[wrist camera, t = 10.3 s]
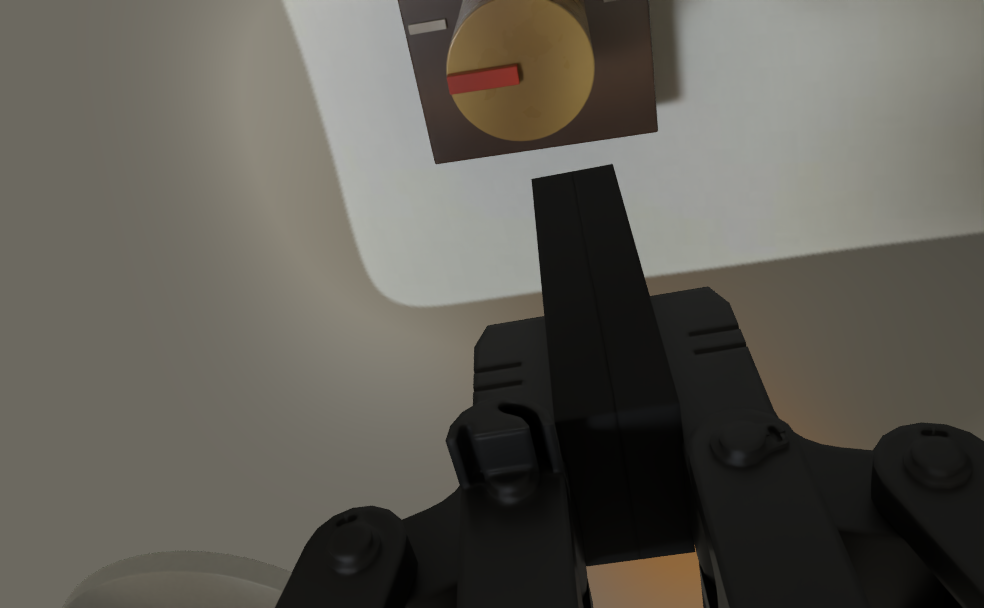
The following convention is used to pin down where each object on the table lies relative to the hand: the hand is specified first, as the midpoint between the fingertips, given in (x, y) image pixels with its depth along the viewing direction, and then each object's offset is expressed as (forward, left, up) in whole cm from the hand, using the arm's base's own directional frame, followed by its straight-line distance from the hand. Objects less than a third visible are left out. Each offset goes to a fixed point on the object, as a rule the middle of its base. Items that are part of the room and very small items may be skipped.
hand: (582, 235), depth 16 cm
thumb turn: (-1, +1, -17) cm, 17 cm away
